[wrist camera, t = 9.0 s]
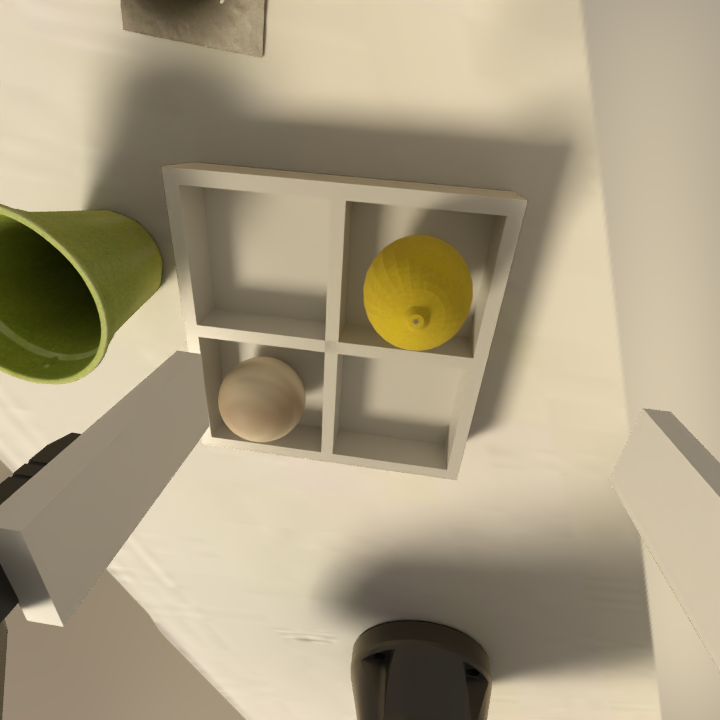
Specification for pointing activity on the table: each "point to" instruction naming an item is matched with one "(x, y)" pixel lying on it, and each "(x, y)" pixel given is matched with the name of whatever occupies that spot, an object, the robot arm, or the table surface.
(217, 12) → the condiment
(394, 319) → the lemon
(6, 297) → the plant pot
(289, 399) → the beige rounded ball
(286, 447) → the tray
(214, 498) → the table surface
